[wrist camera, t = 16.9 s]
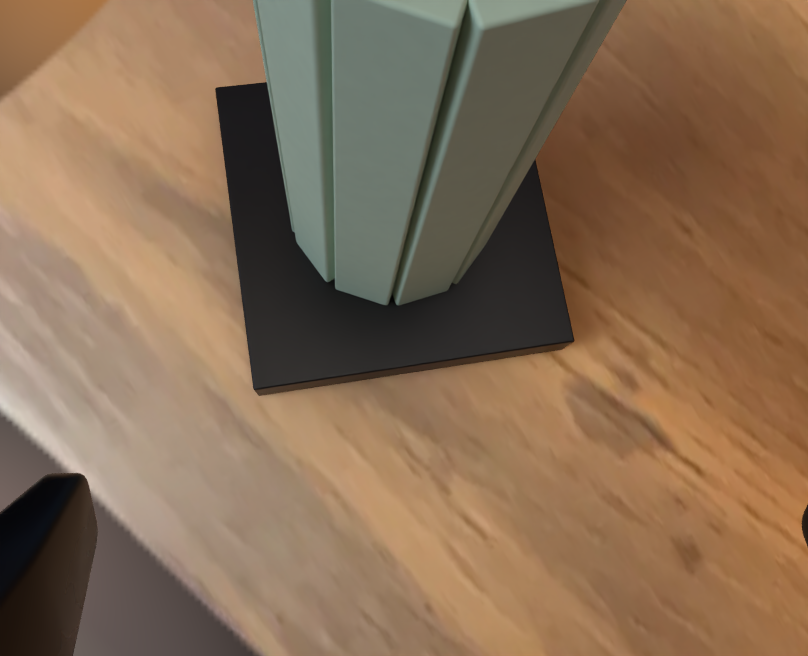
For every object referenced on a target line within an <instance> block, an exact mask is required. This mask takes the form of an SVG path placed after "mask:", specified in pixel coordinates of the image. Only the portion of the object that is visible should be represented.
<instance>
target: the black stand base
mask: <svg viewBox="0 0 808 656" xmlns="http://www.w3.org/2000/svg"><path fill="white" fill-rule="evenodd" d="M215 90H216V98H217V106H218V114H219V122H220V130H221V138H222V145H223V153H224V161H225V169H226V177H227V185H228V193H229V200H230V208H231V216H232V224H233V232H234V240H235V247H236V255H237V263H238V271H239V279H240V287H241V295H242V302H243V310H244V318H245V326H246V334H247V342H248V350H249V357H250V365H251V373H252V381H253V389H254V390H255V392H256V393H257V394H258V395H259V396H260V395H267V394H273V393H280V392H286V391H293V390H300V389H306V388H313V387H319V386H326V385H332V384H339V383H345V382H352V381H358V380H365V379H372V378H378V377H385V376H391V375H398V374H404V373H411V372H417V371H424V370H431V369H437V368H444V367H450V366H457V365H463V364H470V363H476V362H483V361H489V360H496V359H503V358H509V357H516V356H522V355H529V354H535V353H542V352H548V351H555V350H561V349H563V348H565V347H566V346H568V345H569V344H571V343H572V342H574V337H573V332H572V328H571V323H570V318H569V314H568V309H567V304H566V300H565V295H564V291H563V286H562V281H561V277H560V272H559V267H558V263H557V258H556V254H555V249H554V244H553V240H552V235H551V230H550V226H549V221H548V217H547V212H546V207H545V203H544V198H543V193H542V189H541V184H540V180H539V175H538V170H537V166H536V161H535V160H534V162H533V163H532V165H531V167H530V169H529V170H528V172H527V174H526V176H525V177H524V179H523V181H522V182H521V184H520V186H519V188H518V189H517V191H516V193H515V195H514V196H513V198H512V200H511V202H510V203H509V205H508V207H507V208H506V210H505V212H504V214H503V215H502V217H501V219H500V221H499V222H498V224H497V226H496V228H495V229H494V231H493V233H492V234H491V236H490V238H489V240H488V241H487V243H486V245H485V246H484V248H483V249H482V250H481V252H480V253H479V255H478V256H477V257H476V259H475V260H474V261H473V263H472V264H471V266H470V267H469V268H468V270H467V271H466V272H465V274H464V275H463V277H462V278H461V279H460V281H459V282H458V283H457V284H454V283H451V285H450V287H449V289H448V290H447V291H445V292H442V293H438V294H435V295H432V296H429V297H425V298H422V299H419V300H416V301H412V302H409V303H406V304H402V305H396V303H395V300H394V297H393V294H392V295H391V298H390V301H389V304H388V305H383V304H379V303H376V302H373V301H370V300H367V299H364V298H361V297H358V296H355V295H352V294H349V293H346V292H343V291H340V290H337V289H336V288H335V278H334V279H333V280H331V281H330V282H326V281H325V280H324V279H323V277H322V276H321V275H320V273H319V272H318V271H317V269H316V268H315V267H314V265H313V264H312V262H311V261H310V260H309V258H308V257H307V256H306V254H305V253H304V252H303V250H302V249H301V248H300V246H299V245H298V244H297V242H296V237H295V232H293V231H292V226H291V221H290V215H289V209H288V203H287V197H286V191H285V185H284V180H283V174H282V168H281V162H280V156H279V150H278V144H277V138H276V133H275V127H274V121H273V115H272V109H271V103H270V97H269V92H268V86H267V82H265V83H256V84H246V85H237V86H227V87H218V88H216V89H215Z"/></svg>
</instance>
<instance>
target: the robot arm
mask: <svg viewBox="0 0 808 656" xmlns="http://www.w3.org/2000/svg"><path fill="white" fill-rule="evenodd" d="M802 530H803V535H804V538H805V541H806V544H807V546H808V505H807V507H806V509H805V511H804V514H803V518H802ZM97 535H98V528H97V520H96V516H95V511H94V507H93V502H92V498H91V493H90V489H89V485H88V481H87V479H86V478H85V476H84V475H82V474H79V473H52V474H48V475H45V476H44V477H42V478H41V479H40V480H38V481H37V482H36V483H35V484H34V485H32V486H31V487H30V488H29V489H28V490H27V491H25V492H24V493H23V494H22V495H20V496H19V497H18V498H17V499H16V500H15V501H13V502H12V503H11V504H10V505H8V506H7V507H6V508H5V509H4V510H3V511H1V512H0V656H73V652H74V648H75V643H76V639H77V634H78V629H79V624H80V619H81V615H82V610H83V605H84V601H85V596H86V591H87V586H88V582H89V577H90V572H91V568H92V562H93V558H94V553H95V549H96V543H97Z"/></svg>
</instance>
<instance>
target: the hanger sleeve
mask: <svg viewBox="0 0 808 656" xmlns="http://www.w3.org/2000/svg"><path fill="white" fill-rule="evenodd" d="M626 1H627V0H253V4H254V10H255V15H256V21H257V27H258V33H259V39H260V45H261V51H262V56H263V62H264V68H265V74H266V80H267V86H268V92H269V97H270V103H271V109H272V115H273V121H274V127H275V133H276V138H277V144H278V150H279V156H280V162H281V168H282V174H283V180H284V185H285V191H286V197H287V203H288V209H289V215H290V221H291V226H292V231H293V232H295V237H296V242H297V244H298V245H299V246H300V248H301V249H302V250H303V252H304V253H305V254H306V256H307V257H308V258H309V260H310V261H311V262H312V264H313V265H314V267H315V268H316V269H317V271H318V272H319V273H320V275H321V276H322V277H323V279H324V280H325V281H326V282H330V281H331V280H333V279H334V278H335V288H336V289H337V290H340V291H343V292H346V293H349V294H352V295H355V296H358V297H361V298H364V299H367V300H370V301H373V302H376V303H379V304H383V305H388V304H389V301H390V298H391V295H392V294H393V297H394V300H395V303H396V305H402V304H406V303H409V302H412V301H416V300H419V299H422V298H425V297H429V296H432V295H435V294H438V293H442V292H445V291H447V290H448V289H449V287H450V285H451V283H454V284H457V283H458V282H459V281H460V279H461V278H462V277H463V275H464V274H465V272H466V271H467V270H468V268H469V267H470V266H471V264H472V263H473V261H474V260H475V259H476V257H477V256H478V255H479V253H480V252H481V250H482V249H483V248H484V246H485V245H486V243H487V241H488V240H489V238H490V236H491V234H492V233H493V231H494V229H495V228H496V226H497V224H498V222H499V221H500V219H501V217H502V215H503V214H504V212H505V210H506V208H507V207H508V205H509V203H510V202H511V200H512V198H513V196H514V195H515V193H516V191H517V189H518V188H519V186H520V184H521V182H522V181H523V179H524V177H525V176H526V174H527V172H528V170H529V169H530V167H531V165H532V163H533V162H534V160H535V158H536V156H537V155H538V153H539V151H540V150H541V148H542V146H543V144H544V143H545V141H546V139H547V137H548V136H549V134H550V132H551V131H552V129H553V127H554V125H555V124H556V122H557V120H558V118H559V117H560V115H561V113H562V111H563V110H564V108H565V106H566V105H567V103H568V101H569V99H570V98H571V96H572V94H573V92H574V91H575V89H576V87H577V85H578V84H579V82H580V80H581V79H582V77H583V75H584V73H585V72H586V70H587V68H588V66H589V65H590V63H591V61H592V59H593V58H594V56H595V54H596V53H597V51H598V49H599V47H600V46H601V44H602V42H603V40H604V39H605V37H606V35H607V33H608V32H609V30H610V28H611V27H612V25H613V23H614V21H615V20H616V18H617V16H618V14H619V13H620V11H621V9H622V7H623V6H624V4H625V2H626Z"/></svg>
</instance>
